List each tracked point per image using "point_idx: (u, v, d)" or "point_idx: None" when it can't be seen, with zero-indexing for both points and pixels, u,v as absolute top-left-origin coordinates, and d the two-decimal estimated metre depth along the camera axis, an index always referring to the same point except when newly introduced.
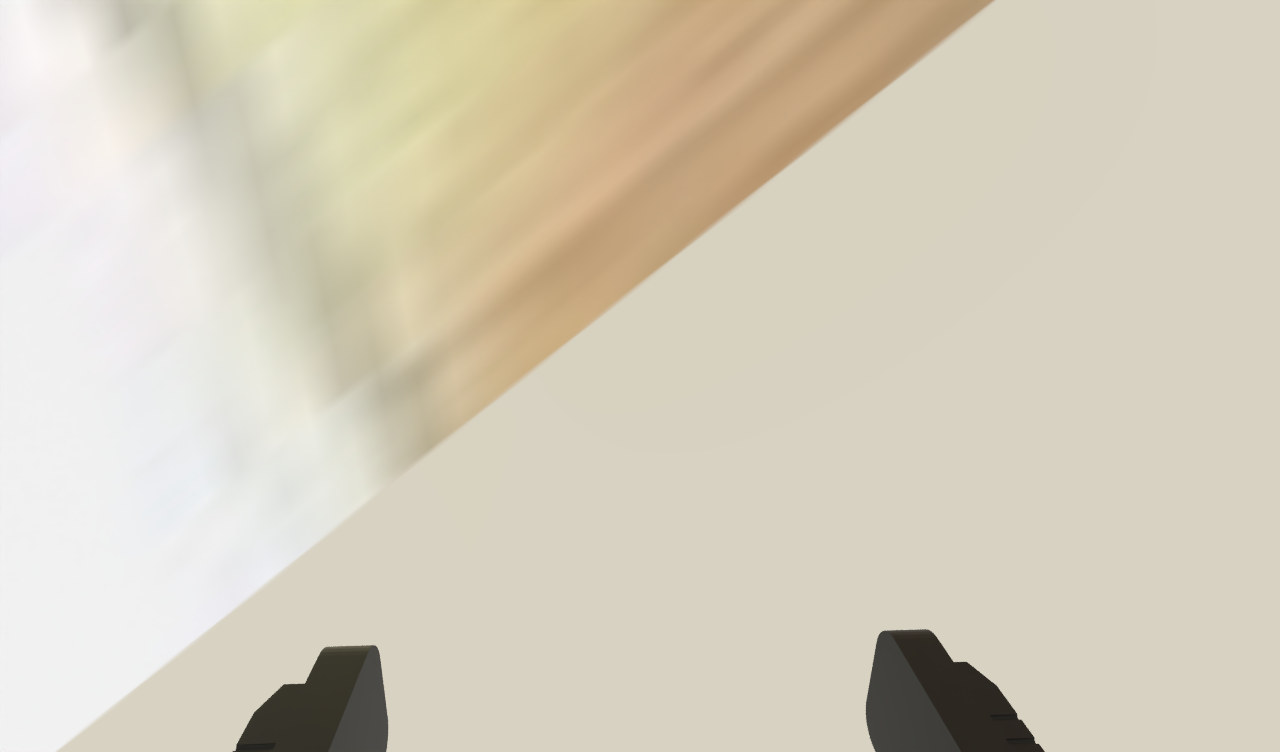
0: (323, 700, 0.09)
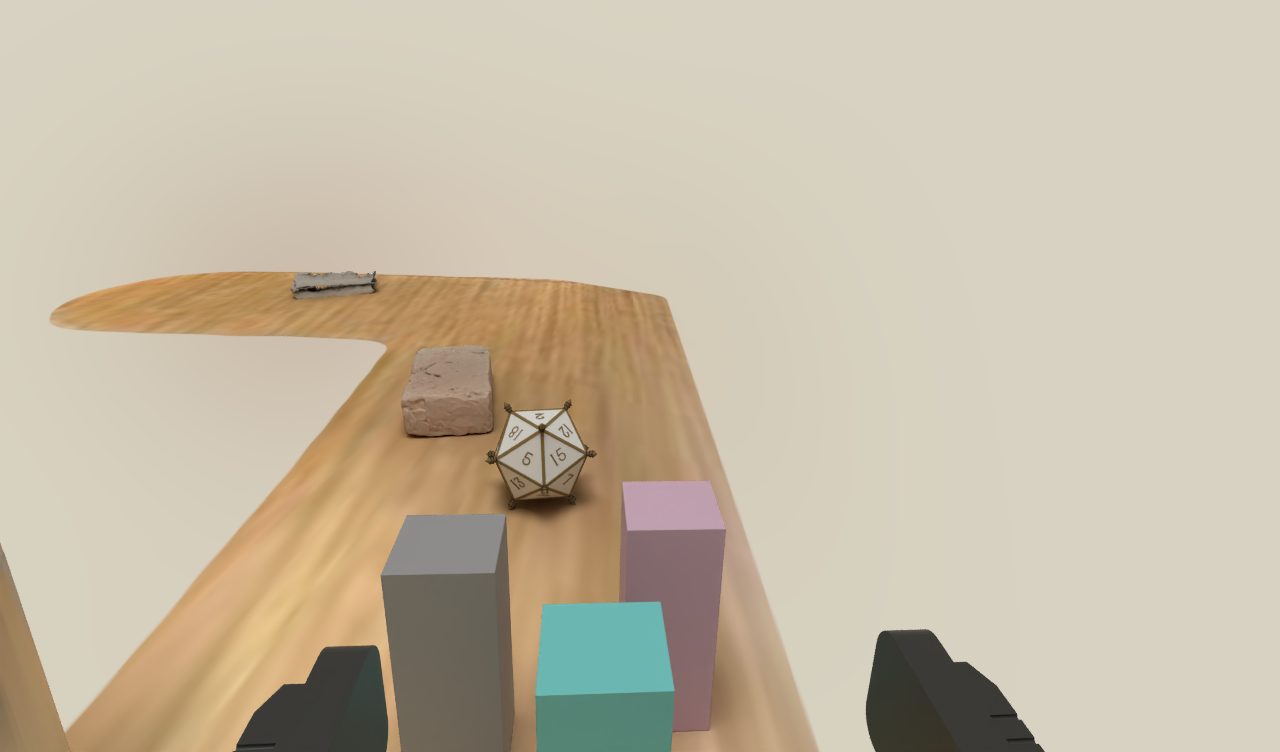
0: (323, 700, 0.09)
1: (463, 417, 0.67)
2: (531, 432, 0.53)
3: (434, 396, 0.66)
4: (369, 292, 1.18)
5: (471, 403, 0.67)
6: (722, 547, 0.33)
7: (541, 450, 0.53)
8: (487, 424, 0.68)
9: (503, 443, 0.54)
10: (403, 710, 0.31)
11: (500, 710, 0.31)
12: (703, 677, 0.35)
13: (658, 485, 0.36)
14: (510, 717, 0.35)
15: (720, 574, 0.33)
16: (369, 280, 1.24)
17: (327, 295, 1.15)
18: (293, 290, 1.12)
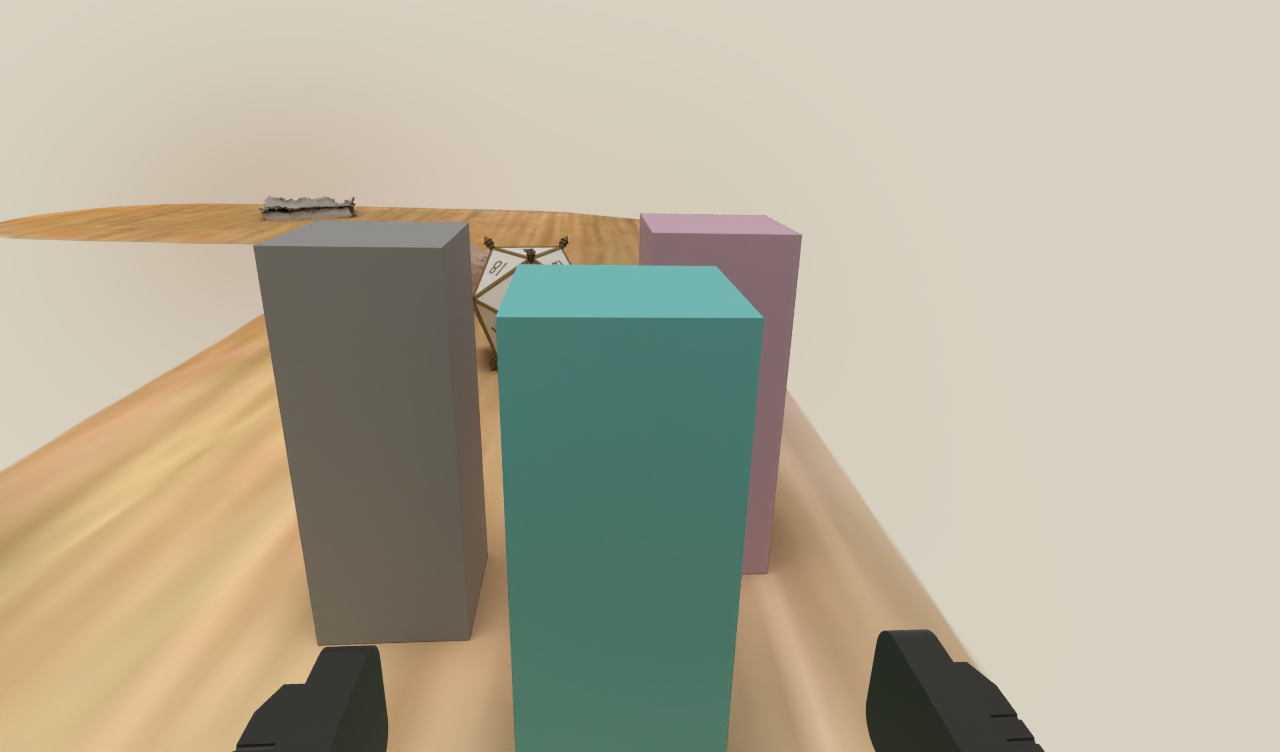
0: (323, 700, 0.09)
1: None
2: (517, 263, 0.42)
3: None
4: (347, 216, 1.08)
5: None
6: (795, 267, 0.21)
7: None
8: None
9: (482, 280, 0.43)
10: (305, 499, 0.20)
11: (458, 502, 0.20)
12: (762, 488, 0.24)
13: (693, 215, 0.25)
14: (479, 546, 0.24)
15: (791, 314, 0.22)
16: None
17: (300, 217, 1.05)
18: (262, 209, 1.02)
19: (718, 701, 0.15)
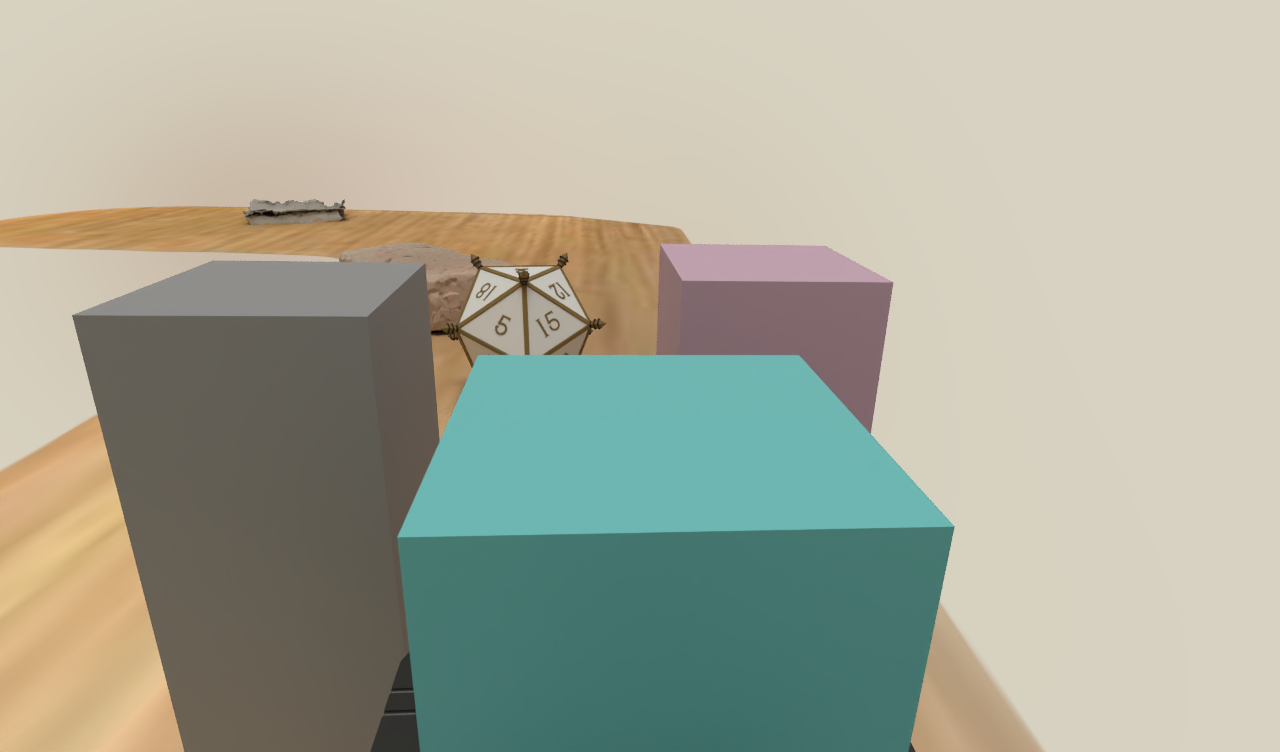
0: None
1: None
2: (508, 287, 0.36)
3: (467, 274, 0.51)
4: (336, 220, 1.02)
5: None
6: (882, 326, 0.15)
7: (523, 312, 0.36)
8: None
9: (468, 306, 0.37)
10: (180, 671, 0.14)
11: None
12: None
13: (731, 247, 0.19)
14: None
15: (873, 390, 0.16)
16: None
17: (287, 221, 0.99)
18: (246, 213, 0.96)
19: None
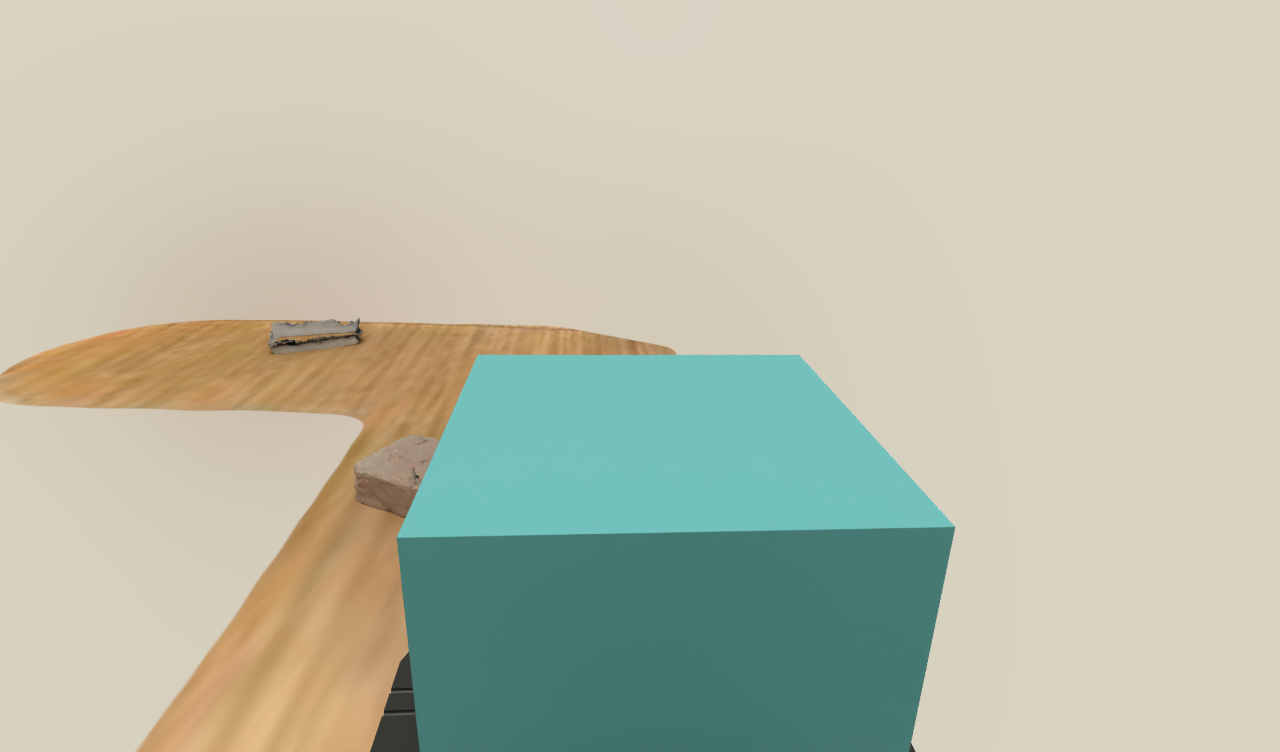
0: None
1: None
2: None
3: None
4: (353, 344, 1.10)
5: None
6: None
7: None
8: None
9: None
10: None
11: None
12: None
13: None
14: None
15: None
16: (352, 328, 1.16)
17: (308, 348, 1.07)
18: (270, 345, 1.03)
19: None
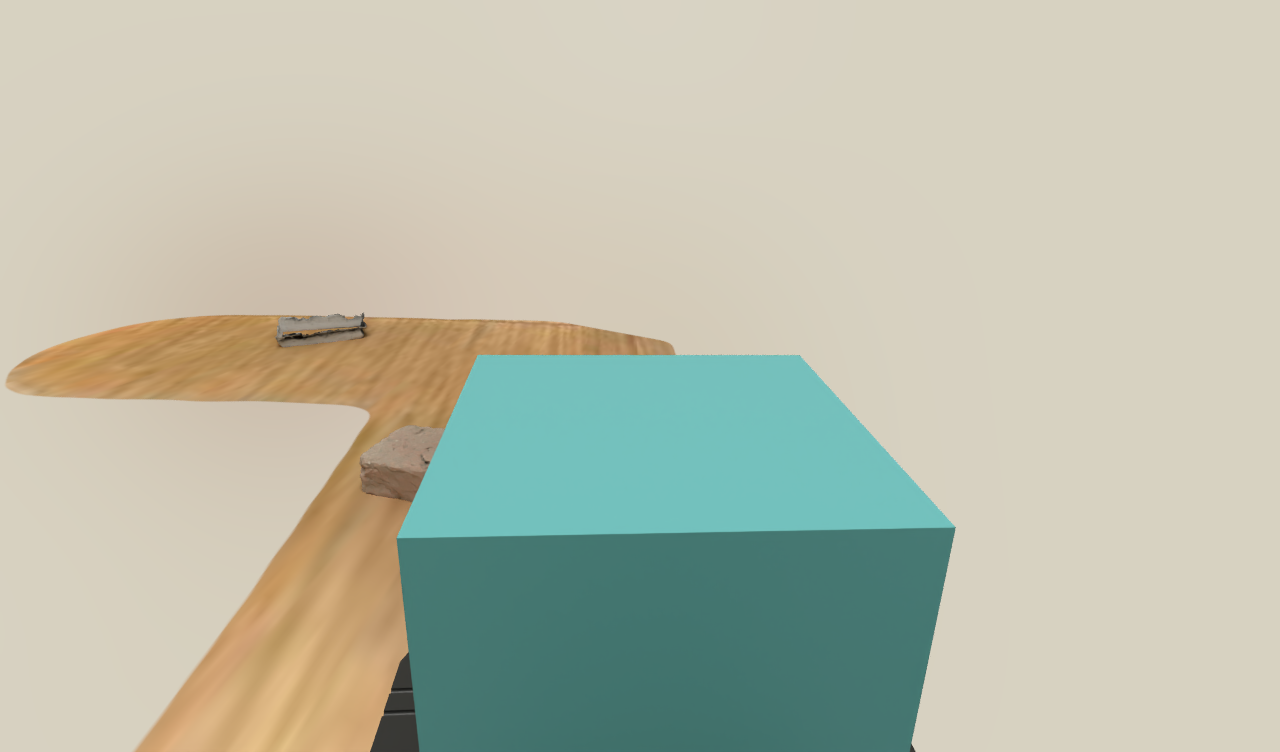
0: None
1: None
2: None
3: None
4: (359, 337, 1.12)
5: None
6: None
7: None
8: None
9: None
10: None
11: None
12: None
13: None
14: None
15: None
16: (357, 322, 1.19)
17: (314, 342, 1.09)
18: (278, 338, 1.06)
19: None
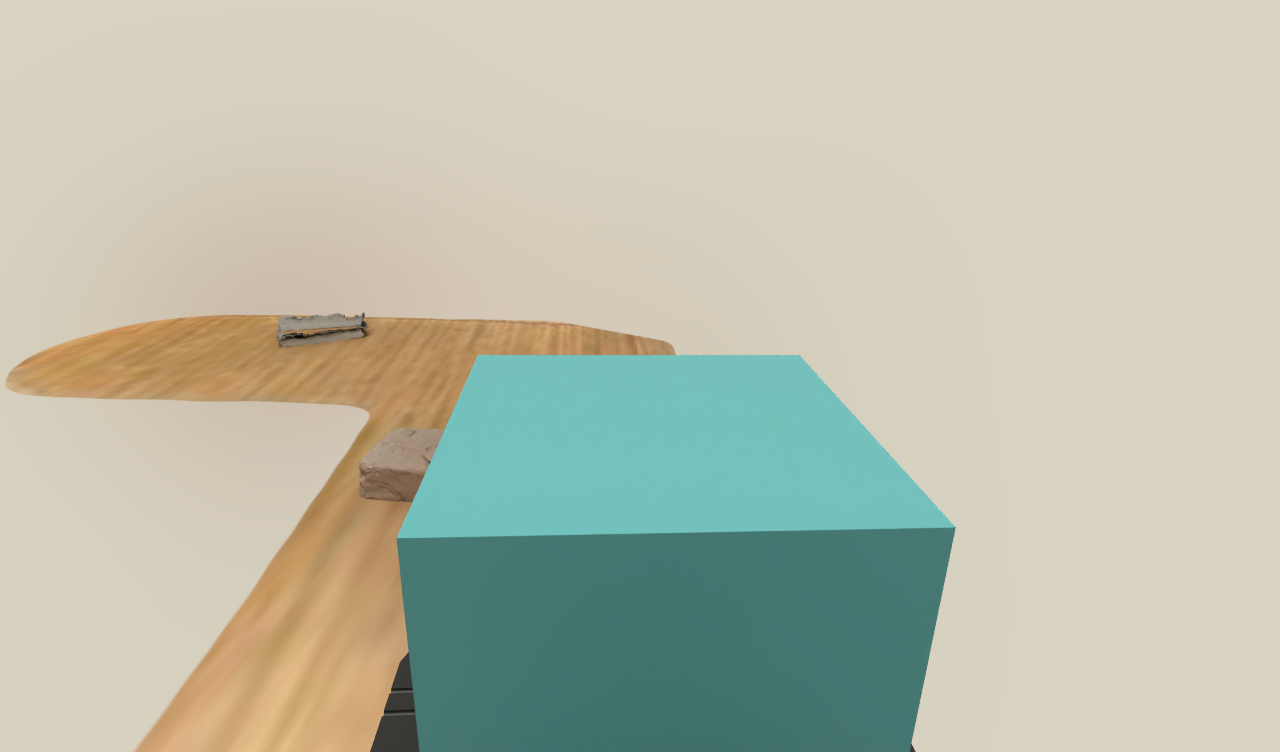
0: None
1: None
2: None
3: None
4: (359, 337, 1.13)
5: None
6: None
7: None
8: None
9: None
10: None
11: None
12: None
13: None
14: None
15: None
16: (357, 321, 1.19)
17: (315, 341, 1.10)
18: (279, 338, 1.07)
19: None
